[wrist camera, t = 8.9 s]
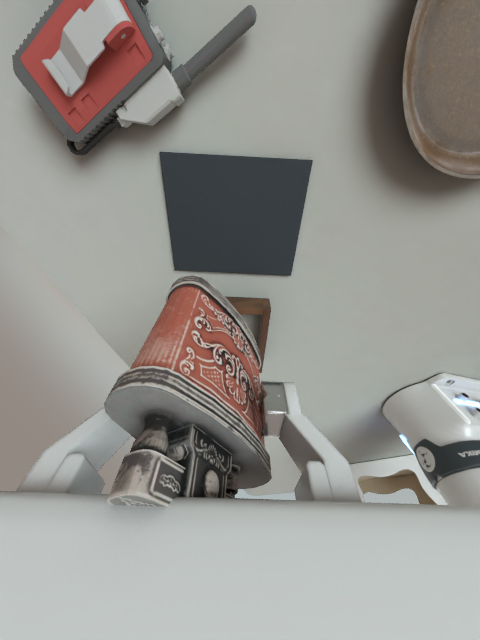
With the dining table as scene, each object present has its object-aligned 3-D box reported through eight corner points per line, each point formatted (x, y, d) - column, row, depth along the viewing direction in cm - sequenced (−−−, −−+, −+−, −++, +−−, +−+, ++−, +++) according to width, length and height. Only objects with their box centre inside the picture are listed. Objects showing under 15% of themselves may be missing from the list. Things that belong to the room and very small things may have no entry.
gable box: (421, 452, 60) (531, 632, 37) (420, 472, 67) (512, 634, 44) (336, 465, 65) (386, 629, 42) (344, 482, 72) (389, 631, 49)
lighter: (156, 292, 13) (5, 514, 5) (203, 263, 12) (115, 484, 4) (230, 374, 17) (219, 573, 9) (271, 357, 16) (301, 566, 8)
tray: (269, 298, 34) (271, 309, 31) (260, 360, 41) (261, 372, 39) (182, 294, 33) (177, 304, 31) (189, 357, 41) (186, 369, 38)
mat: (311, 160, 24) (312, 160, 23) (290, 274, 31) (290, 275, 31) (160, 152, 24) (159, 151, 23) (175, 268, 31) (174, 270, 31)
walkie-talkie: (100, 176, 25) (261, 37, 19) (75, 179, 21) (264, 8, 15) (23, 78, 21) (200, -142, 15) (-24, 61, 17) (185, -242, 11)
